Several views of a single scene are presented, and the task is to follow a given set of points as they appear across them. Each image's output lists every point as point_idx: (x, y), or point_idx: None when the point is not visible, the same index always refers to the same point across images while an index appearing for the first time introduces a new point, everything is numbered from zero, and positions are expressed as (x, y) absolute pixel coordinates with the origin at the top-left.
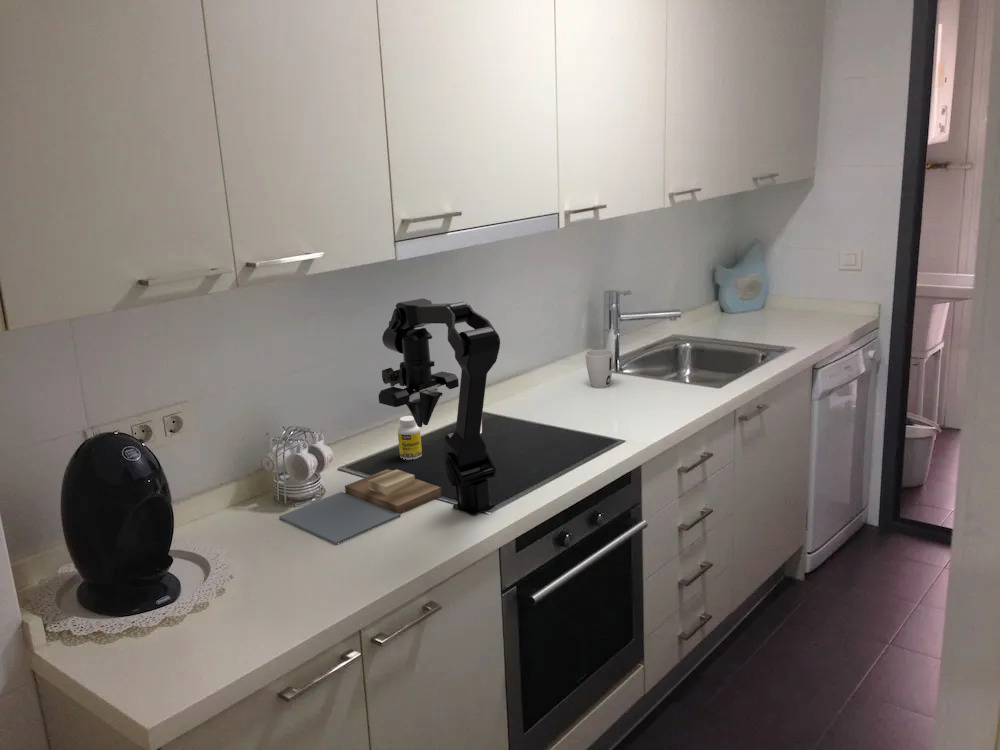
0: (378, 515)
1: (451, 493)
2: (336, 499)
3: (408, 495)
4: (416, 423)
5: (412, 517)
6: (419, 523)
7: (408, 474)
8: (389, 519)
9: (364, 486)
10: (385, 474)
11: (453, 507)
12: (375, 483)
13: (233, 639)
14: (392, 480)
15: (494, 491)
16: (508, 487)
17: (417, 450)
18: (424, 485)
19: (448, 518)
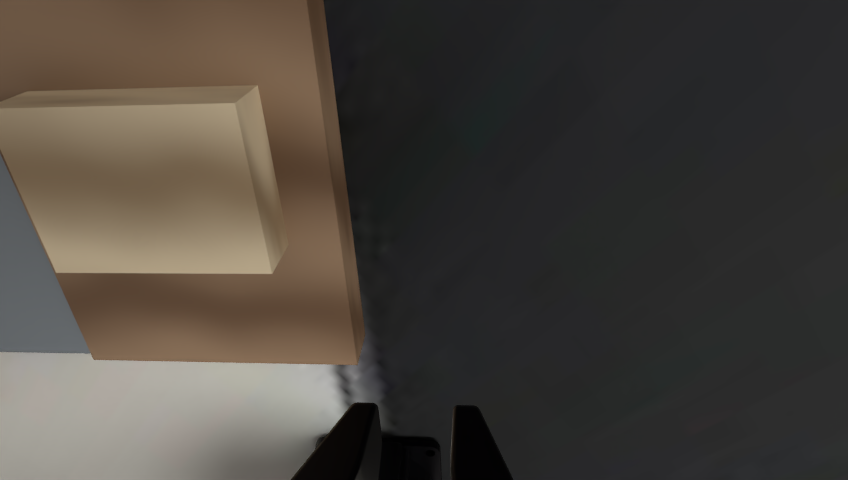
0: (26, 299)
1: (415, 346)
2: None
3: (184, 321)
4: (329, 436)
5: (157, 381)
6: (157, 426)
7: (250, 236)
8: (58, 352)
9: (11, 26)
10: (126, 116)
11: (316, 446)
12: (17, 184)
13: None
14: (126, 231)
15: (544, 450)
16: (609, 465)
17: None
18: (312, 296)
19: (260, 466)
